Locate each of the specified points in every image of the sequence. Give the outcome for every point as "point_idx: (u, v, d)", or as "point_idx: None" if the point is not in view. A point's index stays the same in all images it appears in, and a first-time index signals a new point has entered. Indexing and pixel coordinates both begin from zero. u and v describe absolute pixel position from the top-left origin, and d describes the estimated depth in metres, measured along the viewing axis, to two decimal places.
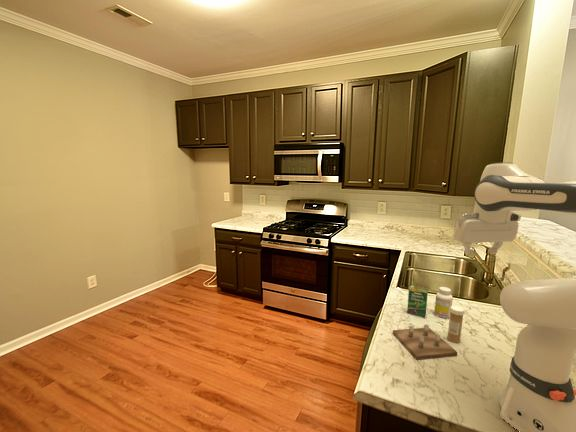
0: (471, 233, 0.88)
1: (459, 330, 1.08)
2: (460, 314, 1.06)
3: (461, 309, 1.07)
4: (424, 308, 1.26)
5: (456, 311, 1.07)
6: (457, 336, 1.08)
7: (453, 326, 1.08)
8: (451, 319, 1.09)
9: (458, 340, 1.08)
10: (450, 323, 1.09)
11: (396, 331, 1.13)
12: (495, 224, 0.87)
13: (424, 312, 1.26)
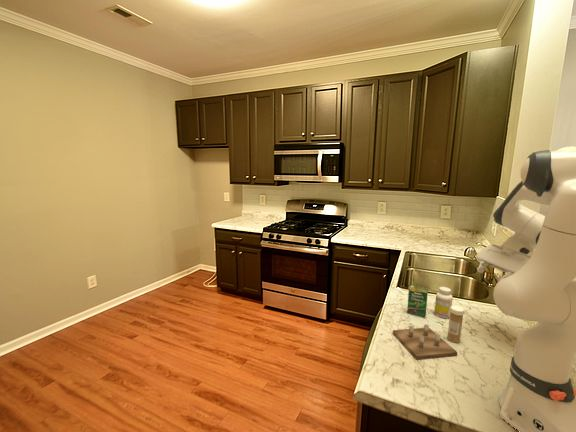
0: (485, 253, 1.14)
1: (459, 330, 1.08)
2: (460, 314, 1.06)
3: (461, 309, 1.07)
4: (424, 308, 1.26)
5: (456, 311, 1.07)
6: (457, 336, 1.08)
7: (453, 326, 1.08)
8: (451, 319, 1.09)
9: (458, 340, 1.08)
10: (450, 323, 1.09)
11: (396, 331, 1.13)
12: (505, 250, 1.08)
13: (424, 312, 1.26)
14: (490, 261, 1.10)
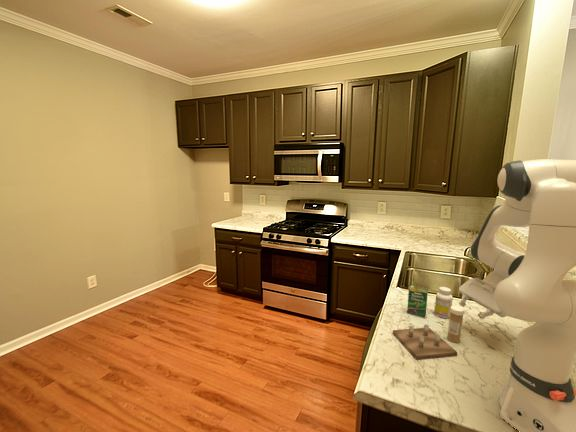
0: (468, 287, 1.15)
1: (459, 330, 1.08)
2: (460, 314, 1.06)
3: (461, 309, 1.07)
4: (424, 308, 1.26)
5: (456, 311, 1.07)
6: (457, 336, 1.08)
7: (453, 326, 1.08)
8: (451, 319, 1.09)
9: (458, 340, 1.08)
10: (450, 323, 1.09)
11: (396, 331, 1.13)
12: (485, 286, 1.09)
13: (424, 312, 1.26)
14: (471, 296, 1.11)
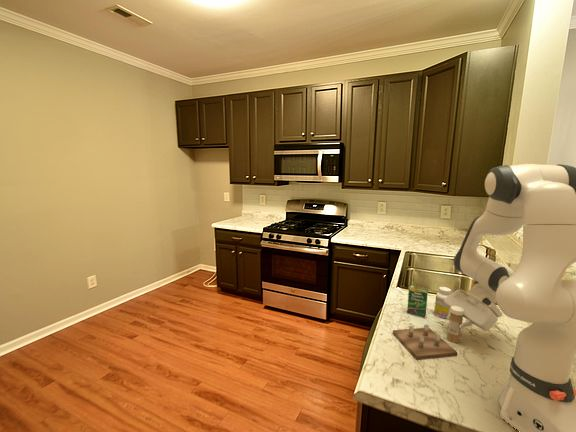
0: (452, 299, 1.15)
1: (459, 330, 1.08)
2: (460, 314, 1.06)
3: (461, 309, 1.07)
4: (424, 308, 1.26)
5: (456, 311, 1.07)
6: (457, 336, 1.08)
7: (453, 326, 1.08)
8: (451, 319, 1.09)
9: (458, 340, 1.08)
10: (450, 323, 1.09)
11: (396, 331, 1.13)
12: (469, 298, 1.09)
13: (424, 312, 1.26)
14: None
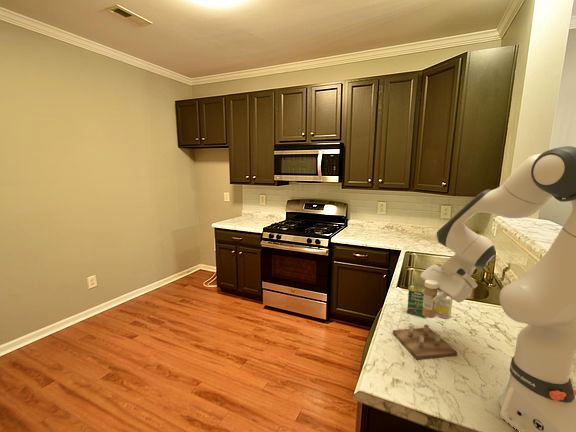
0: (429, 273, 1.10)
1: (433, 305, 1.03)
2: (434, 287, 1.01)
3: (435, 282, 1.02)
4: None
5: (430, 284, 1.02)
6: (431, 311, 1.03)
7: (427, 300, 1.03)
8: (425, 293, 1.04)
9: (432, 315, 1.03)
10: (424, 298, 1.04)
11: (396, 331, 1.13)
12: (444, 270, 1.04)
13: None
14: None
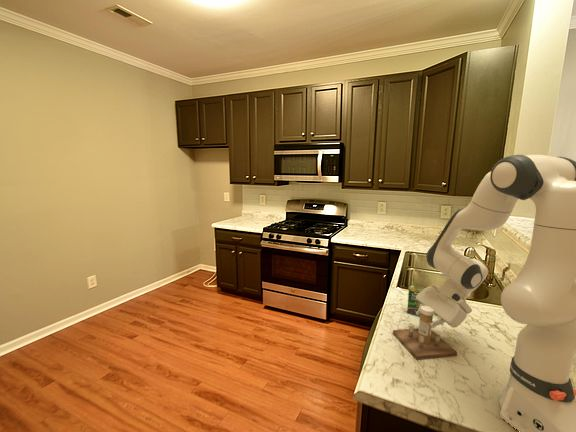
0: (424, 295, 1.12)
1: (429, 331, 1.04)
2: (429, 314, 1.03)
3: (431, 309, 1.04)
4: None
5: (425, 311, 1.03)
6: (427, 337, 1.04)
7: (422, 327, 1.05)
8: (421, 319, 1.05)
9: (428, 341, 1.05)
10: (420, 323, 1.06)
11: (396, 331, 1.13)
12: (439, 294, 1.05)
13: None
14: (426, 304, 1.08)
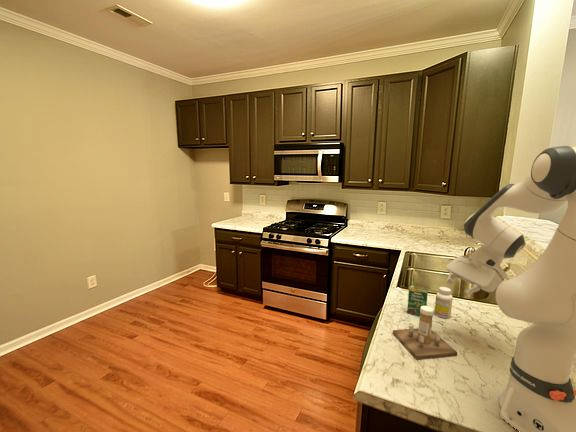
0: (455, 265, 1.12)
1: (428, 331, 1.04)
2: (429, 314, 1.03)
3: (431, 309, 1.04)
4: None
5: (425, 311, 1.03)
6: (427, 337, 1.04)
7: (422, 327, 1.05)
8: (421, 319, 1.05)
9: (428, 341, 1.05)
10: (420, 323, 1.06)
11: (396, 331, 1.13)
12: (472, 262, 1.05)
13: None
14: (458, 273, 1.08)
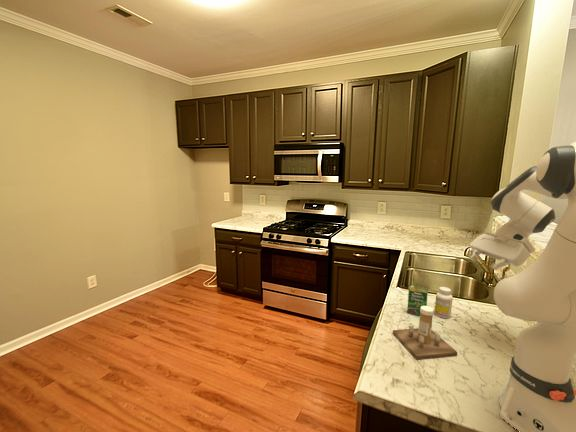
0: (479, 242, 1.12)
1: (428, 331, 1.04)
2: (429, 314, 1.03)
3: (431, 309, 1.04)
4: None
5: (425, 311, 1.03)
6: (427, 337, 1.04)
7: (422, 327, 1.05)
8: (421, 319, 1.05)
9: (428, 341, 1.05)
10: (420, 323, 1.06)
11: (396, 331, 1.13)
12: (498, 237, 1.05)
13: None
14: (484, 249, 1.08)
